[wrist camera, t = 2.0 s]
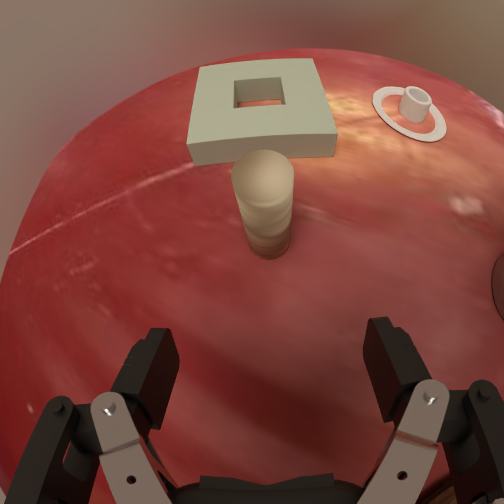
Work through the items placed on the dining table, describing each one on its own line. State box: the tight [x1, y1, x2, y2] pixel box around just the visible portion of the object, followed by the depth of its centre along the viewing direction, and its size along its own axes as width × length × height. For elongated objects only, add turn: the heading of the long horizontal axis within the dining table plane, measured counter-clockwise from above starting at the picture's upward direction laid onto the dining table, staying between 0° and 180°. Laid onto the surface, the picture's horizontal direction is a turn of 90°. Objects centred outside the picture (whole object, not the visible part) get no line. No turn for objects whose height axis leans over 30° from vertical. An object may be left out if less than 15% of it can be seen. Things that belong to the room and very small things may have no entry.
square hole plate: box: [186, 59, 338, 166], centre depth 33 cm, size 16×16×4 cm
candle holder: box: [372, 86, 446, 142], centre depth 32 cm, size 12×12×4 cm
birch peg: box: [231, 150, 294, 260], centre depth 23 cm, size 4×4×11 cm
